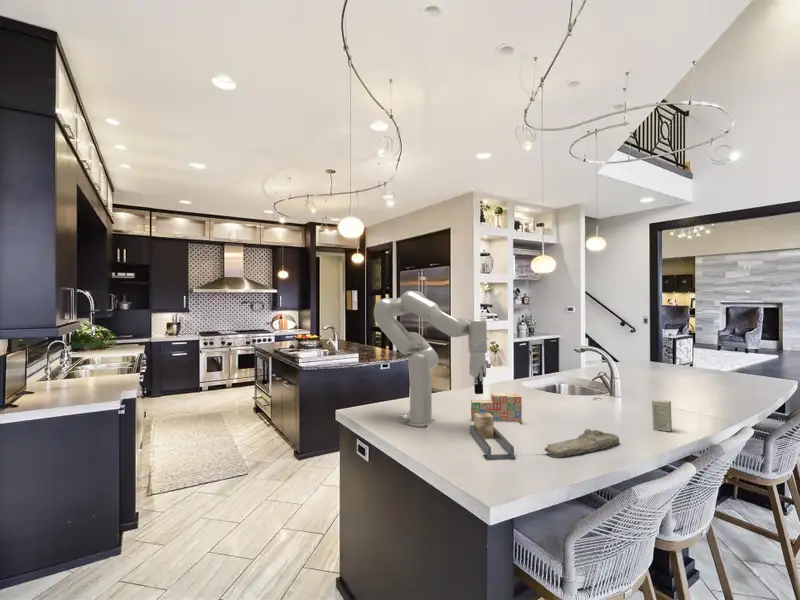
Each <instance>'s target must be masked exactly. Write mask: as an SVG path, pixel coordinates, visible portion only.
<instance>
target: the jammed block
mask: <svg viewBox="0 0 800 600" xmlns="http://www.w3.org/2000/svg"><path fill="white" fill-rule="evenodd" d="M473 423H474V424H473V425H474V427H475V429H476V430H477V431H478V432H479V433H480V435H481V436H482V437H483V438H484V439H495V438H494V427H495V426H494V421H493V416H492V415H491V414H490V413H474V421H473Z"/></svg>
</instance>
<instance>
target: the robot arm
mask: <svg viewBox="0 0 800 600" xmlns="http://www.w3.org/2000/svg"><path fill="white" fill-rule="evenodd" d="M410 313H413V314H415V315H416V316H418V317H420V318H421V319H423V320H425V321H426V322H427V323H429V324H430V325H431V326H432V327H433V328H435V329H436V330H438V331H439V332H441V333H444V334H445V335H447V336H448V337H452V338H459V337H463V336H467V339H468V342H467V343H468V353H469V367H468V368H469V369H468V370H469V375H470V376H471V377H472V378H473V381H474V383H473V384H474V385H473V386H474V394H475V395H483V394H484V378H486V377H487V360H486V354H487V353H488V334H487V333H488V332H487V331H488V330H487V320H485V319H484V318H471V319H468V318H454V317H453V316H451V315H450V314H447V313H445V312H443V310H441V308H440V307H439V305H438V304H437V303H436V302H434V301H432V300H431V299H428V298H426V295H425V294H424V293H423V292H421V291H418V290H417V291H416V290H407V291H405V292H403V293H402V295H401V296H400V297H396V298H395V297H393V298H391V297H385V298H381V299H379V300H378V301H377V302H376V303H375V305H374V308H373V317H374V321H375V323H376V324H377V326H378V327H379V329H380V330H381V331H382V332H383V333H384V334H385V335H386V337H387V338H388V340H389V341H390V342H391V343H392V345H393V346H394V347H395V348H396V350H397V351H399V352H400V354H404V355H408V354H411V355H409V358H408V362H407V365H408V366H407V368H408V372H409V373H408V374H409V411H408V412H407V413H399V419H402V420H406V424H407V425H409V426H410V427H411V426H412V427H417V428H418V427H419V428H427V427H429V426H428V425H433V424H434V423H436V420H435V419H434V418H433V417H432V416H433V415H432V414H433V413H432V411H433V410H432V409H433V408H432V405H433V404H432V403H433V400H432V399H433V398H432V397H433V395H432V393H433V392H432V388H433V387H432V377H431V371H432V370H434V369H435V368H436V367H437V366H438V365H439V361H440V359H439V356H438V355H439V354H437V352H436V351H435V349H434V348H433V347H432V346H431V345H430V343H429V342H428V341H427V340H426V339H425V338H424V336H423V335H421V334H419V332H414V331H408V330H407V329H406V328H405V327H404V326H403V325H402V323H401V322H400V321H399V320H397V319H396V318H395V317H400V316H403V315H407V314H410Z"/></svg>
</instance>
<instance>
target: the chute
mask: <svg viewBox="0 0 800 600" xmlns="http://www.w3.org/2000/svg"><path fill="white" fill-rule="evenodd" d="M469 434H470V435H471V437H472V438H473V439H474V440H475V442H476V443H477V445H478V446H479V447H480V449H482V451H483V452H484V454H482V456H483V458H485V460H486V461H487V460H488V461H489V460H492V461H493V460H494V461H495V460H516V455H515V447H514V446H513V444H511V442H510V441H509V440H508V439H507V438H506V437H505V436H503V434H502V433H501V432H500V431H499V430H498V429H497V428H496V427H495V426H494V438H493V439H495V441H496V442H497V443H498V444H499V445H500V447H502V449H504V451H506V453H505V454H504V453H503V454H499V453H497V454H492V447H491V445H490V444H489V443H488V442H487V440H486V439H485V438H483V437H482V436H481V435H480V433H479V432H478V431H477V430H476V429H475V427H474V424H471V425H469Z"/></svg>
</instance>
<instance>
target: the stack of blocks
mask: <svg viewBox="0 0 800 600" xmlns="http://www.w3.org/2000/svg"><path fill="white" fill-rule="evenodd" d="M522 408H523V404H522V396H521V395H520V394H519V393H512V392H511V393H507V392H506V393H499V392H498V393H495V392H494V393H493V392H492V393H490V399H476V398H475V399H473V398H472V399H471V400H470V420H471V422H474V413H490V414H491V415H492V416H493V422H508V423H509V422H510V423H518V424H520V425H522V424H523V423H522V415H523V414H522V412H523V411H522V410H523V409H522Z"/></svg>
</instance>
